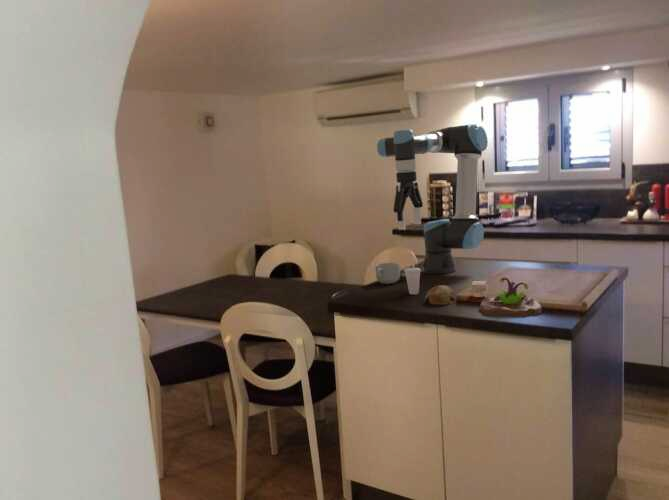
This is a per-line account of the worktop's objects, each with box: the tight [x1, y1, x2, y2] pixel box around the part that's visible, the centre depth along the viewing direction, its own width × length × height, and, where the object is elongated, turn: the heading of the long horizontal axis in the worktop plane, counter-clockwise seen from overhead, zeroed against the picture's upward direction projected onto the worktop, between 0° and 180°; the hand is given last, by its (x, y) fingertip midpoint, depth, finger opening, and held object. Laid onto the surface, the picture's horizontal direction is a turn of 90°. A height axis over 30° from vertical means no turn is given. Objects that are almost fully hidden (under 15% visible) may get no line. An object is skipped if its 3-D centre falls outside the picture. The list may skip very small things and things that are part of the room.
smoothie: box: [404, 257, 421, 295], centre depth 235 cm, size 6×6×14 cm
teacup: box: [374, 262, 401, 285], centre depth 258 cm, size 14×11×8 cm
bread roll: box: [425, 284, 456, 306], centre depth 219 cm, size 10×10×8 cm
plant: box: [479, 277, 543, 318], centre depth 202 cm, size 20×20×11 cm
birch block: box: [470, 280, 488, 292], centre depth 223 cm, size 5×5×5 cm
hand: (410, 226), depth 232 cm, fingers open, 13 cm apart
